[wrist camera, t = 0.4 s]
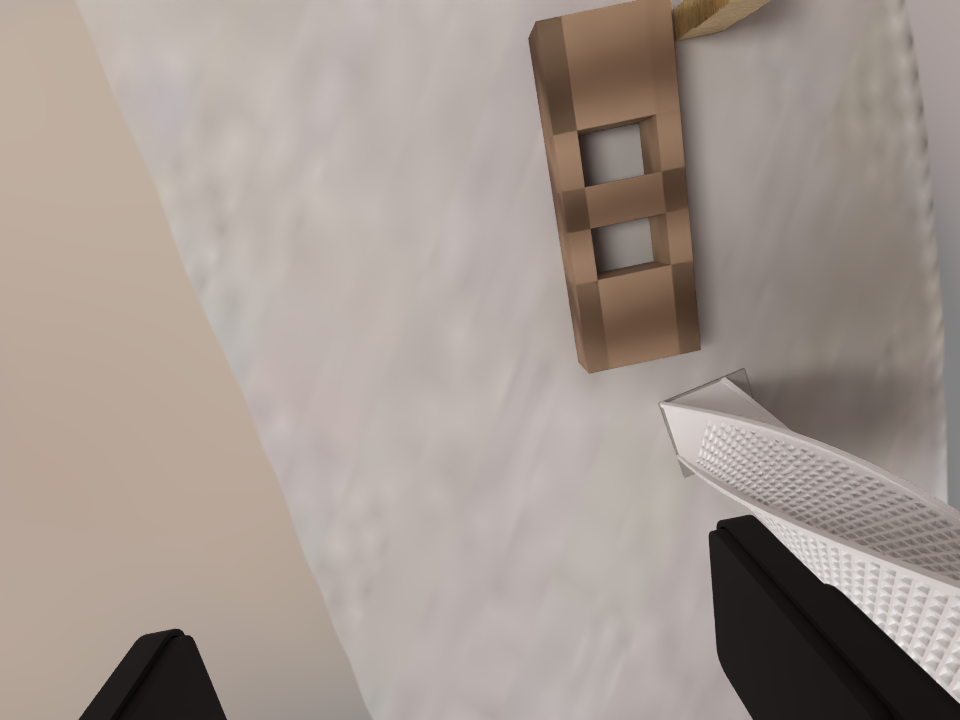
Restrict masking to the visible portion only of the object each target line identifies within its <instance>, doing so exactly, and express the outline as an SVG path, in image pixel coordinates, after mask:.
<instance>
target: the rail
mask: <svg viewBox="0 0 960 720" xmlns="http://www.w3.org/2000/svg"><path fill="white" fill-rule="evenodd" d="M528 39H529V46H530V52H531V59H532V65H533V71H534V78H535V84H536V91H537V97H538V104H539V110H540V117H541V123H542V129H543V136H544V142H545V149H546V155H547V162H548V168H549V175H550V181H551V188H552V194H553V200H554V207H555V213H556V220H557V226H558V233H559V239H560V246H561V252H562V259H563V265H564V271H565V278H566V284H567V291H568V297H569V304H570V310H571V317H572V323H573V330H574V336H575V342H576V349H577V355H578V362H579V363H580V364H581V365H582V366H583V367H584V369H585V370H586V371H587V372H588V373H594V372H599V371H603V370H608V369H613V368H617V367H622V366H627V365H632V364H636V363H641V362H646V361H651V360H655V359H660V358H665V357H670V356H674V355H679V354H684V353H689V352H693V351H698V350H701V347H700V335H699V324H698V312H697V301H696V289H695V278H694V266H693V255H692V243H691V232H690V220H689V209H688V198H687V186H686V175H685V163H684V152H683V140H682V129H681V117H680V106H679V94H678V83H677V71H676V60H675V48H674V37H673V25H672V14H671V3H670V0H637V1H632V2H628V3H623V4H618V5H613V6H608V7H603V8H599V9H594V10H589V11H584V12H579V13H574V14H570V15H565V16H560V17H555V18H550V19H545V20H541V21H536V23H535V25H534V27H533V29H532V31H531V34H530V36H529V38H528ZM634 123H639V128H640V137H641V147H642V156H643V165H644V175H642V176H637V177H632V178H628V179H623V180H618V181H613V182H608V183H604V184H599V185H594V186H589V187H585V185H584V178H583V170H582V163H581V156H580V149H579V141H578V135H582V134H586V133H591V132H596V131H601V130H606V129H610V128H615V127H620V126H625V125H630V124H634ZM644 217H649V221H650V230H651V240H652V249H653V258H654V261H653V262H648V263H643V264H639V265H634V266H629V267H624V268H620V269H615V270H610V271H605V272H600V273H597V272H596V264H595V257H594V250H593V243H592V235H591V229H592V228H597V227H602V226H606V225H611V224H616V223H621V222H625V221H630V220H635V219H640V218H644Z"/></svg>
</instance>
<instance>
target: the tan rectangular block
mask: <svg viewBox="0 0 960 720" xmlns="http://www.w3.org/2000/svg"><path fill="white" fill-rule="evenodd" d="M769 1H771V0H684V1H683V2H682V3H681V4H680V5H678V6H677V7H676V8H675V9H674V10H673V12H674V23H675V35H676V41H680V40H684V39H689V38H694V37H699V36H704V35H708V34H713V33H718V32H722V31H723V30H725V29H726V28H728V27H729V26H731V25H732V24H733V23H735V22H736V21H738V20H741V19H744V18H745V17H747V16H748V15H750V14H751V13H753V12H754V11H756V10H757V9H759V8H760V7H762V6H763V5H765V4H766V3H768V2H769Z"/></svg>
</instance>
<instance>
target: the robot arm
mask: <svg viewBox="0 0 960 720" xmlns="http://www.w3.org/2000/svg"><path fill="white" fill-rule="evenodd" d="M709 549H710V563H711V577H712V590H713V604H714V618H715V632H716V645H717V654H718V657H719V661H720V663H721V666H722V668H723V671H724V672H725V674H726V676H727V678H728V679H729V681H730V683H731V684H732V686H733V687H734V689H735V691H736V692H737V694H738V696H739V697H740V699H741V701H742V702H743V704H744V705H745V707H746V709H747V710H748V712H749V714H750V715H751V717H752V719H753V720H960V703H959V702H957V701H956V700H955V699H954V698H953V697H952V696H951V695H950V694H949V693H948V692H947V691H946V690H945V689H944V688H943V687H942V686H941V685H940V684H938V683H937V682H936V681H935V680H934V679H933V678H932V677H931V676H930V675H929V674H928V673H927V672H926V671H925V670H924V669H923V668H922V667H921V666H920V665H918V664H917V663H916V662H915V661H914V660H913V659H912V658H911V657H910V656H909V655H908V654H907V653H906V652H905V651H904V650H903V649H902V648H901V647H899V646H898V645H897V644H896V643H895V642H894V641H893V640H892V639H891V638H890V637H889V636H888V635H887V634H886V633H885V632H884V631H883V630H882V629H881V628H879V627H878V626H877V625H876V624H875V623H874V622H873V621H872V620H871V619H870V618H869V617H868V616H867V615H866V614H865V613H864V612H863V611H862V610H861V609H859V608H858V607H857V606H856V605H855V604H854V603H853V602H852V601H851V600H850V599H849V598H848V597H847V596H846V595H845V594H844V593H843V592H841V591H840V590H839V589H837V588H836V587H835V586H833V585H830V584H827V583H826V584H824V583H823V582H822V581H821V580H820V579H819V578H818V577H817V576H816V575H815V574H814V573H813V572H812V571H810V570H809V569H808V568H807V567H806V566H805V565H804V564H803V563H802V562H801V561H800V560H799V559H798V558H797V557H796V556H795V555H794V554H793V553H792V552H791V551H790V550H789V549H788V548H787V547H786V546H785V545H784V544H783V543H782V542H781V541H780V540H779V539H778V538H777V537H776V536H774V535H773V534H772V533H771V532H770V531H769V530H768V529H767V528H766V527H765V526H764V525H763V524H762V523H761V522H760V521H759V520H758V519H757V518H756V517H754V516H753V515H745V516H740V517H735V518H730V519H725V520H720V521H719V522H718V523H717V530H714V531H711V532H710V533H709ZM79 720H227V719H226V717H225V714H224V712H223V709H222V707H221V704H220V702H219V699H218V697H217V694H216V692H215V690H214V687H213V685H212V682H211V680H210V677H209V675H208V673H207V670H206V668H205V666H204V663H203V660H202V658H201V656H200V653H199V651H198V648H197V646H196V643H195V641H194V640H193V638H192V637H191V636H189V635H186V636H185V635H184V633H183V631H181V630H180V629H171V630H166V631H161V632H156V633H151V634H146V635H143V636H141V637H140V638H139V639H138V640H137V641H136V642H135V643H134V645H133V646H132V647H131V649H130V650H129V651H128V653H127V654H126V656H125V657H124V658H123V660H122V661H121V662H120V664H119V665H118V667H117V668H116V669H115V670H114V672H113V673H112V675H111V676H110V677H109V679H108V680H107V682H106V683H105V684H104V686H103V687H102V688H101V690H100V691H99V692H98V694H97V695H96V696H95V698H94V699H93V701H92V702H91V703H90V705H89V706H88V707H87V709H86V710H85V711H84V713H83V714H82V716H81V717H80V719H79Z"/></svg>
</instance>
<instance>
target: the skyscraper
mask: <svg viewBox="0 0 960 720" xmlns="http://www.w3.org/2000/svg"><path fill="white" fill-rule="evenodd" d="M659 406H660V409H661V411H662V414H663V417H664V420H665V423H666V426H667V429H668V432H669V435H670V438H671V440H672V443H673V446H674V449H675V452H676V456H677V458H678V461H679V464H680V467H681V469H682V472H683V475H684V477H685V478H686V477H688V476H691V475H693V474H697V475H698V476H699V477H701V478H702V479H703V480H705V481H706V482H707V483H709V484H710V485H712V486H713V487H715V488H716V489H718V490H719V491H721V492H722V493H724V494H726V495H727V496H729V497H731V498H732V499H734V500H736V501H738V502H739V503H741V504H743V505H745V506H747V507H748V508H749V509H750V510H752V511H753V512H754V513H755V514H756V515H757V516H758V517H759V518H760V519H761V520H762V521H763V522H764V523H765V524H766V526H767V527H768V528H769V529H770V530H771V531H772V532H773V533H774V535H775V536H776V537H777V538H778V539H779V540H780V541H781V542H782V543H783V544H784V545H785V546H786V547H787V548H788V549H789V550H790V551H791V552H792V553H793V554H794V555H795V556H796V557H797V558H798V559H799V560H800V561H801V562H802V563H803V564H804V565H805V566H806V567H807V568H808V569H809V570H810V571H812V572H813V573H814V574H815V575H816V576H817V577H818V578H819V579H820V580H821V581H822V582H823V583H824V584H826V583H827V584H830V585H833V586H835V587H836V588H837V589H839V590H840V591H841V592H843V593H844V594H845V595H846V596H847V597H848V598H849V599H850V600H851V601H852V602H853V603H854V604H855V605H856V606H857V607H858V608H859V609H861V610H862V611H863V612H864V613H865V614H866V615H867V616H868V617H869V618H870V619H871V620H872V621H873V622H874V623H875V624H876V625H877V626H878V627H879V628H881V629H882V630H883V631H884V632H885V633H886V634H887V635H888V636H889V637H890V638H891V639H892V640H893V641H894V642H895V643H896V644H897V645H898V646H899V647H901V648H902V649H903V650H904V651H905V652H906V653H907V654H908V655H909V656H910V657H911V658H912V659H913V660H914V661H915V662H916V663H917V664H918V665H920V666H921V667H922V668H923V669H924V670H925V671H926V672H927V673H928V674H929V675H930V676H931V677H932V678H933V679H934V680H935V681H936V682H937V683H938V684H940V685H941V686H942V687H943V688H944V689H945V690H946V691H947V692H948V693H949V694H950V695H951V696H952V697H953V698H954V699H955V700H956V701H957V702H959V703H960V512H959V511H957V510H955V509H954V508H952V507H951V506H949V505H947V504H946V503H944V502H943V501H941V500H939V499H938V498H936V497H934V496H932V495H930V494H929V493H927V492H925V491H923V490H922V489H920V488H918V487H916V486H915V485H913V484H911V483H909V482H908V481H906V480H904V479H902V478H900V477H898V476H896V475H894V474H892V473H890V472H888V471H886V470H884V469H882V468H880V467H878V466H876V465H874V464H872V463H870V462H868V461H865V460H863V459H861V458H859V457H856V456H854V455H852V454H850V453H848V452H845V451H843V450H841V449H838V448H836V447H833V446H830V445H828V444H825V443H823V442H820V441H818V440H815V439H812V438H810V437H807V436H804V435H801V434H798V433H795V432H793V431H791V430H790V429H789V428H788V427H787V426H785V425H784V424H783V423H782V422H781V421H779V420H778V419H777V418H776V417H775V416H773V415H772V414H771V413H770V412H768V411H767V410H766V409H765V408H763V407H762V406H761V405H760V404H758V403H757V402H756V401H755V400H753V397H752V394H751V390H750V387H749V383H748V380H747V377H746V373H745V370H744V369H741V370H738V371H736V372H733V373H731V374H729V375H726V376H724V377H721V378H719V379H716V380H714V381H712V382H709V383H707V384H704V385H702V386H699V387H697V388H695V389H692V390H690V391H687V392H685V393H682V394H680V395H678V396H675V397H673V398H670V399H668V400H665V401H662V402H660V403H659Z"/></svg>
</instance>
